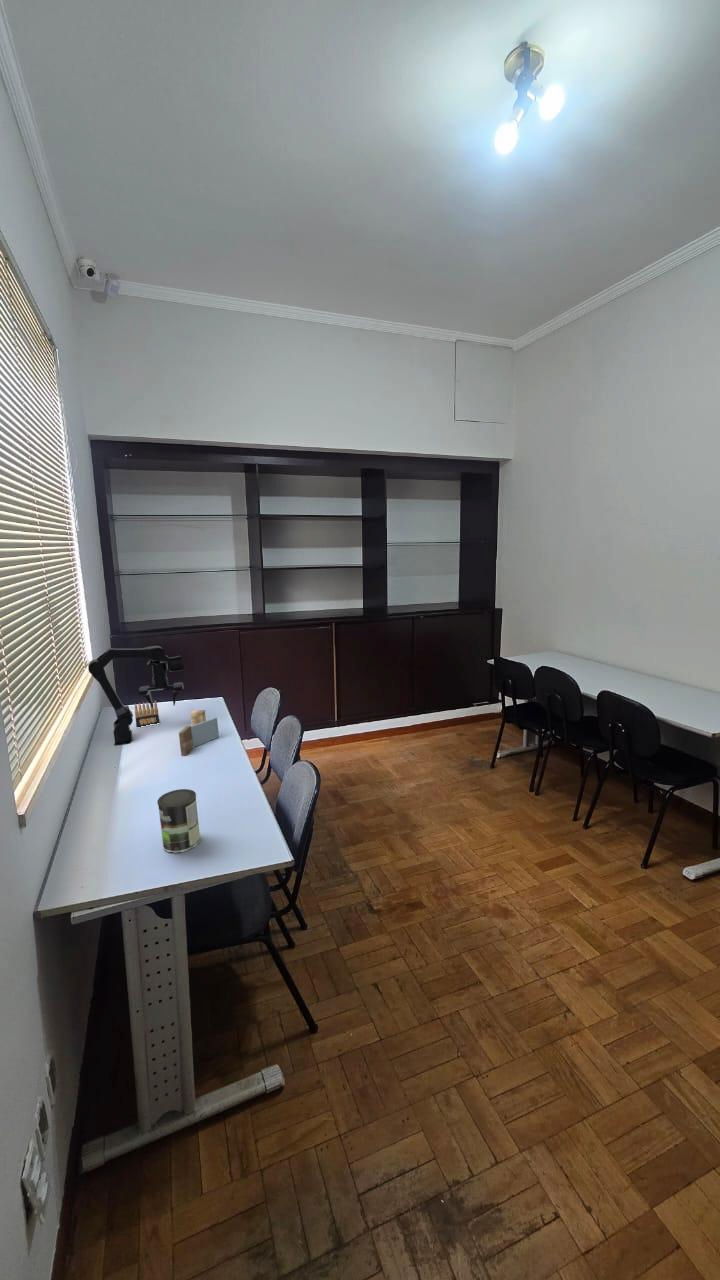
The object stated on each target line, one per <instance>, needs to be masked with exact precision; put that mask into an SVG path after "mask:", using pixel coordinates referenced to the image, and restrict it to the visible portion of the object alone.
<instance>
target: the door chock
mask: <svg viewBox="0 0 720 1280" xmlns="http://www.w3.org/2000/svg"><path fill="white" fill-rule="evenodd" d="M206 717H207V716H206V710H205V709H204V710H203V709H197V710H196V709H195V710H194V709H193V711H191V712H190V720H191V726H192V725H195V724H198V723H201V722H204V721H207V718H206Z"/></svg>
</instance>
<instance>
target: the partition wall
mask: <svg viewBox="0 0 720 1280" xmlns="http://www.w3.org/2000/svg"><path fill="white" fill-rule="evenodd" d="M191 726H192V725H186V726H184V728H182V729H181V730H180V731H179V732H178V737H179V738H178V739H179V746H180V754H181V755H180V756H181V757H186V756H187V755H189V754H190V752H192V751H193V750H194V747H193V741H192V732H191Z"/></svg>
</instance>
